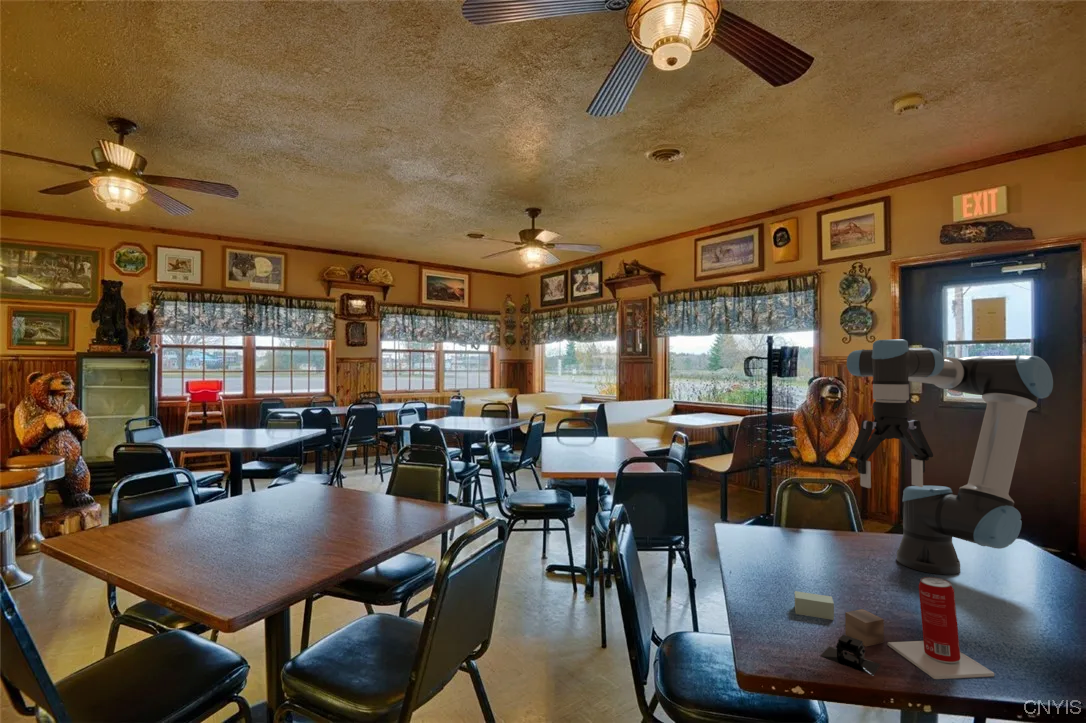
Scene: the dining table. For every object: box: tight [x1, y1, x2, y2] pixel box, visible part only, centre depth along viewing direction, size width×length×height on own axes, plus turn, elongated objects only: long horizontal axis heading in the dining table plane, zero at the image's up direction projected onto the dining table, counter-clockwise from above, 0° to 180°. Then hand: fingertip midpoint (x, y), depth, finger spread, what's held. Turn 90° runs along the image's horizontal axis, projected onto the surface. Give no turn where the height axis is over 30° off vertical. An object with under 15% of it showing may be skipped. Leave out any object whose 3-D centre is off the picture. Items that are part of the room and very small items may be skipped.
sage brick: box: [794, 590, 835, 621], centre depth 124 cm, size 4×8×4 cm, turn 67°
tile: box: [887, 640, 995, 680], centre depth 104 cm, size 12×12×1 cm
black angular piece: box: [820, 634, 881, 676], centre depth 104 cm, size 12×7×5 cm, turn 44°
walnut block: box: [844, 608, 885, 647], centre depth 113 cm, size 5×5×5 cm
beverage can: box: [918, 576, 961, 663], centre depth 104 cm, size 6×6×15 cm
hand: (891, 486), depth 130 cm, fingers open, 13 cm apart
